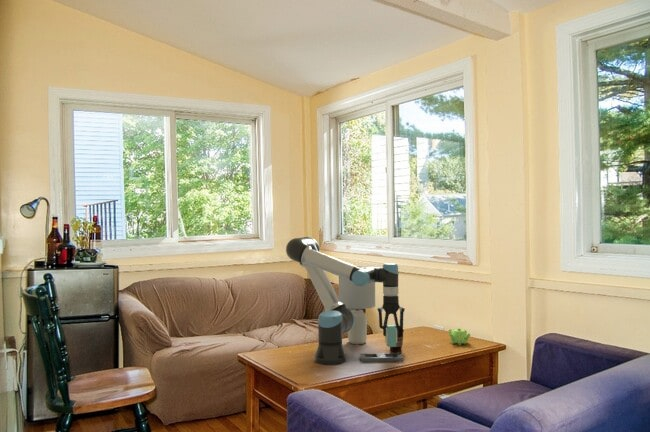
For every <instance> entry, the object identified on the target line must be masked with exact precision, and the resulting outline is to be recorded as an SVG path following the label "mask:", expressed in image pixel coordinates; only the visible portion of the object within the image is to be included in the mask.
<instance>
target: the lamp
mask: <svg viewBox="0 0 650 432" xmlns="http://www.w3.org/2000/svg"><path fill="white" fill-rule="evenodd" d="M338 298H339V300H340V302H342V303H344V304H345V306H346V308H347V309H349V310H350V311H351V312H352V313H353V315H354V318H355V322H354V325H353V327H352V328H351V329H350V330H349V331H348V332H347V340H348V341H347V342H349V344H351V345H363V344H365V343H366V342H367V338H368V335H367V331H368V330H367V328H368V327H367V322H368V321H367V314H366V312H364V310H363V309H365V310H366V309H371V308H375V307H376V282H372V283H369V284H367V285H364V286H357V285H355V284H354V283H353V282H352V281H350V280H347V279H345V278H342V277H340V276H338Z"/></svg>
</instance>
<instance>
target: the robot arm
mask: <svg viewBox="0 0 650 432" xmlns="http://www.w3.org/2000/svg"><path fill="white" fill-rule="evenodd" d="M285 246H286V247H285V253H286V255H287V257H288V258H289V259H290V260H292V261H294V262H295V263H296V262H297V263H299V265H300V267H302V268H304V269H305V270H306V272H307V274H308V277H309V278H310V281H311V282H312V285H313V287H314V289H315V291H316V293H317V295H318V297H319V300H320V301H321V303H322V305H323V307H324V311H322V312H321V313H319V314H318V319H317V324H318V325H317V327H318V329H317V330H318V335H317V337H318V344H317V345H318V346H317V348H316V353H315V354H314V355H315V356H314V361H315V363H318V364H320V365H329V366H330V365H333V366H334V365H340V364H344V363H345V362H346V361H347V355H346V351H345V349H344V346H343V335H344V334H346V333H348V331H349V330H350V329H351V328H352V327H353V325H354V322H355V318H354V315H353V313H352V312H351V309H348V308H346V306H345V304H344V303H342V302H340V300H339V295H337V293H336V290H335V288H334V286H333V285H332V283H331V281H330V279H329V276H328V275H327V273H331V274H332V275H335V276H337V277H339V276H340V277H342V278H345V279H347V280H350V281H352V282H353V283H354V284H355V285H357V286H364V285H367V284H369V283H372V282H375V283H382V295H383V296H382V297H383V298H382V302H383V304H382V306H380V307H377V311H378V327H379V329H382V334H383V337H385V339H384V340H385V343H386V344H387V343H388V330H387V328H386V327H387V325H388V320H389V316H390V315H393V318H394V325H395V326H396V343H397V336H399V329H400V328H403V329H404V313H405V308H404V306H403V307H402V306H400V303H399V302H400V301H399V298H400V297H399V266H398V264H397V263H394V262H393V263H391V262H389V263H388V262H387V263H386V262H385V263H382V264H383V265H382V267H379V266H378V267H377V266H361V267H360V266H359V267H358V266H356V265H354V264H351V263H349V262H345V261H343V260H341V259H339V258H336V257H333V256H331V255H328V254H325V253H322V252H320V245H319V242H318V241H317V240H316V239H314V238H312V237H309V236H303V237H295V238H292V239H290V240H289V241H288V242H287V244H286V245H285ZM398 310H399V319H398V316H397V315H398V314H397V312H398ZM383 311H384V312H385V315H384V320H383V313H382V312H383Z"/></svg>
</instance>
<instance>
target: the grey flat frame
mask: <svg viewBox="0 0 650 432" xmlns="http://www.w3.org/2000/svg"><path fill="white" fill-rule="evenodd" d="M359 358H360V361H361V363H397V362H399V363H400V362H402V363H403V362H404V356H403V355H402V354H401V352H400V353H392V352H377V353H375V352H373V353H372V352H370V353H367V352H365V353H359Z"/></svg>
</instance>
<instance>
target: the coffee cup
mask: <svg viewBox="0 0 650 432" xmlns="http://www.w3.org/2000/svg"><path fill="white" fill-rule="evenodd" d="M404 331H405V329H404V327H403V328H400V329H399V336H397V343H396V347H389V353H400V354H401V353H402V351H403V350H402V348H403V345H404V344H403V343H404V342H403V340H404Z"/></svg>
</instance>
